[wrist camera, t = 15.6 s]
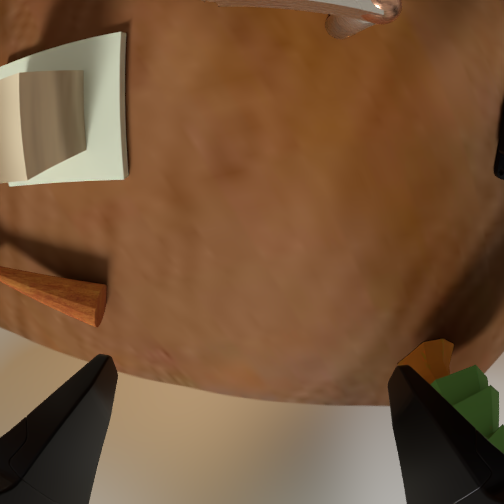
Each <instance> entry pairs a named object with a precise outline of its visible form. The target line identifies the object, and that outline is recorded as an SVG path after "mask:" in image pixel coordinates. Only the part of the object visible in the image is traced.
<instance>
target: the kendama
mask: <svg viewBox="0 0 504 504" xmlns="http://www.w3.org/2000/svg"><path fill="white" fill-rule="evenodd" d="M0 281H1V282H2V283H4V284H6V285H8V286H10V287H12V288H13V289H15V290H17V291H19V292H21V293H23V294H25V295H27V296H29V297H31V298H33V299H35V300H37V301H39V302H41V303H43V304H45V305H47V306H49V307H51V308H54V309H56V310H58V311H60V312H62V313H64V314H67V315H69V316H71V317H73V318H76V319H78V320H80V321H83V322H85V323H87V324H90V325H92V326H94V327H98V326H99V325H100V323H101V321H102V318H103V315H104V312H105V307H106V300H107V285H105V284H98V283H92V282H85V281H79V280H73V279H67V278H61V277H55V276H49V275H44V274H38V273H32V272H27V271H22V270H16V269H11V268H6V267H1V266H0Z"/></svg>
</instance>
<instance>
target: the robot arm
mask: <svg viewBox="0 0 504 504" xmlns="http://www.w3.org/2000/svg"><path fill="white" fill-rule="evenodd" d="M500 170H501V171H500ZM499 172H500V173H499ZM494 174H495V176H496V177H498V178H500V179H503V180H504V113H503V121H502V129H501V135H500V141H499V147H498V153H497V158H496V163H495V168H494ZM117 379H118V374H117V370H116V367H115V364H114V362H113V359H112V357H111V356H109V355H104V354H99V355H97V356H96V357H94V358H93V359H92V360H91V361H90V362H89V363H87V364H86V365H85V366H84V367H83V368H82V369H80V370H79V371H78V372H77V373H76V374H75V375H73V376H72V377H71V378H70V379H69V380H67V381H66V382H65V383H64V384H63V385H62V386H61V387H59V388H58V389H57V390H56V391H55V392H54V393H53V394H51V395H50V396H49V397H48V398H47V399H46V400H44V401H43V402H42V403H41V404H40V405H39V406H38V407H36V408H35V409H34V410H33V411H32V412H31V413H30V414H29V415H27V418H26V417H25V418H24V419H23V420H21V422H19V423H18V424H17V425H16V426H14V427H13V428H12V429H11V430H10V431H9V432H7V433H6V434H4V435H3V436H2V437H1V438H0V504H89V500H90V495H91V491H92V486H93V482H94V478H95V474H96V469H97V465H98V462H99V458H100V454H101V450H102V446H103V443H104V439H105V436H106V432H107V429H108V425H109V421H110V417H111V412H112V406H113V401H114V394H115V389H116V384H117ZM388 392H389V400H390V408H391V417H392V426H393V431H394V436H395V440H396V446H397V451H398V456H399V460H400V466H401V471H402V477H403V483H404V488H405V495H406V501H407V504H504V453H502V452H501V451H500V450H499V449H498V448H496V447H495V446H494V445H493V444H492V443H491V442H489V441H488V440H487V439H486V438H485V437H484V436H483V435H482V434H481V433H480V432H479V431H478V430H476V428H475V427H474V426H473V425H472V424H471V423H470V422H469V421H468V420H467V419H466V418H464V417H463V416H462V415H461V414H460V413H459V412H458V411H457V410H456V409H455V408H454V407H453V406H452V405H451V404H450V403H449V402H448V401H447V400H446V399H445V398H444V397H443V396H442V395H441V394H440V393H438V392H437V391H436V390H435V389H434V388H433V387H432V386H431V385H430V384H429V383H428V382H427V381H426V380H425V379H424V378H423V377H422V376H420V375H419V374H418V373H417V372H416V371H415V370H414V369H413V368H412V367H411V366H409V365H399V366H397V367H396V368H395V370H394V372H393V374H392V376H391V378H390V379H389V382H388Z"/></svg>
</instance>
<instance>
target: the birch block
mask: <svg viewBox="0 0 504 504" xmlns="http://www.w3.org/2000/svg"><path fill="white" fill-rule="evenodd" d="M85 150H87V149H86V136H85V119H84V70H59V71H35V72H21V73H17V74H14V75H11V76H8V77H6V78H3V79H1V80H0V183H7V182H16V181H27V180H29V179H31V178H33V177H34V176H36V175H38V174H40V173H42V172H44V171H45V170H47V169H49V168H51V167H53V166H55V165H57V164H59V163H61V162H63V161H65V160H67V159H69V158H71V157H73V156H75V155H77V154H79V153H81V152H83V151H85Z"/></svg>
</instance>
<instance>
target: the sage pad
mask: <svg viewBox="0 0 504 504" xmlns="http://www.w3.org/2000/svg"><path fill="white" fill-rule="evenodd" d="M125 53H126V33H124V32H116V33H111V34H106V35H101V36H97V37H92V38H88V39H84V40H80V41H76V42H72V43H68V44H65V45H61V46H58V47H54V48H51V49H48V50H45V51H42V52H39V53H36V54H33V55H30V56H27V57H24V58H22V59H19V60H16V61H14V62H11V63H9V64H6V65H4V66H1V67H0V80H1V79H3V78H6V77H8V76H11V75H14V74H17V73H21V72H35V71H59V70H84V119H85V136H86V149H87V150H85V151H83V152H81V153H79V154H77V155H75V156H73V157H71V158H69V159H67V160H65V161H63V162H61V163H59V164H57V165H55V166H53V167H51V168H49V169H47V170H45V171H44V172H42V173H40V174H38V175H36V176H34V177H33V178H31V179H29V180H27V181H16V182H8V183H9V186H20V185H31V184H44V183H58V182H75V181H95V180H124V179H125V178H127V177H128V176H129V173H128V160H127V144H126V120H125Z"/></svg>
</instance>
